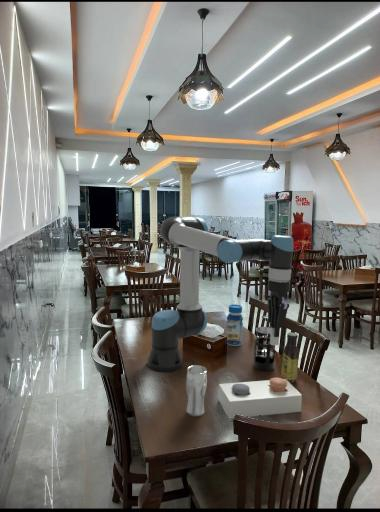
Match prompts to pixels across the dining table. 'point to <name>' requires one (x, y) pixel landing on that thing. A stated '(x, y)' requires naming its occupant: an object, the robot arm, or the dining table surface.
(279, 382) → the terracotta plug
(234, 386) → the grey plug
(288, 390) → the block
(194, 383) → the beer glass
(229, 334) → the beverage bottle
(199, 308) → the robot arm
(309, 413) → the dining table surface
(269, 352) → the french press
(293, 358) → the sauce bottle
